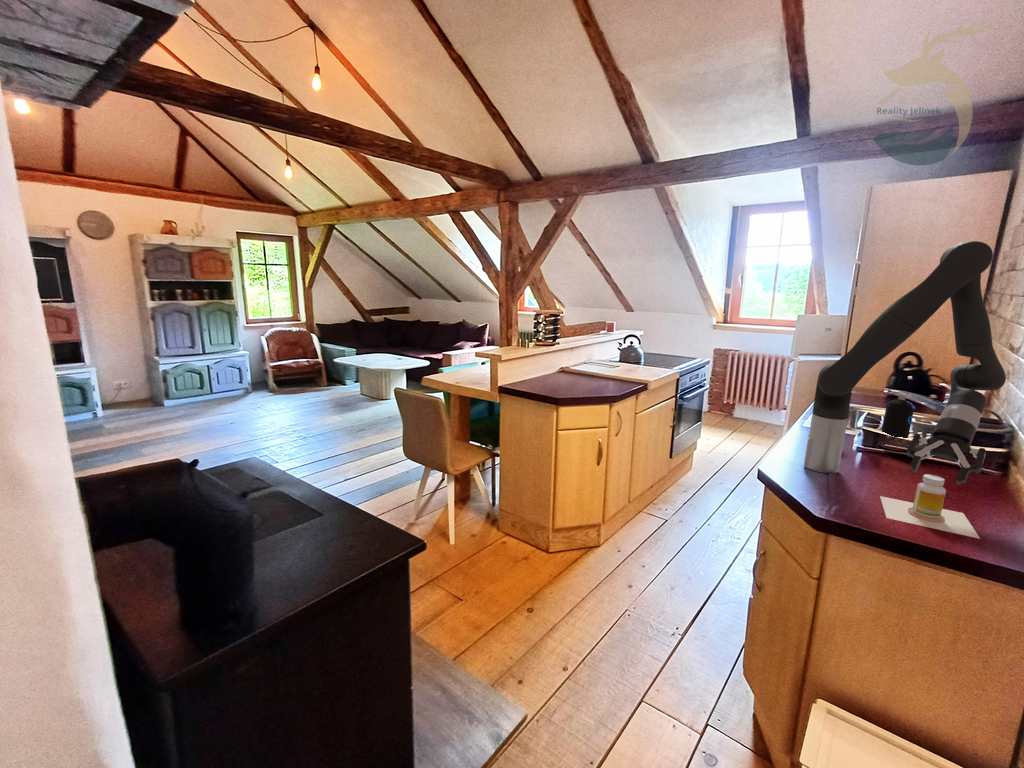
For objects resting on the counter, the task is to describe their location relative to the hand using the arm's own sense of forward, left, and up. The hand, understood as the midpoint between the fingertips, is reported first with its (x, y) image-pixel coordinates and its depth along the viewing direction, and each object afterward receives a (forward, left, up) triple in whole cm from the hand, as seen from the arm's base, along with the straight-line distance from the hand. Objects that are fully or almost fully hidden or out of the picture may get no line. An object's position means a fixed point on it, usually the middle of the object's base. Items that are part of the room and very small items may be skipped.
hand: (935, 476), depth 119 cm
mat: (-1, -3, -10) cm, 11 cm away
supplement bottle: (-1, -2, -9) cm, 10 cm away
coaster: (-1, -3, -10) cm, 10 cm away
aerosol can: (-1, +61, -10) cm, 62 cm away
